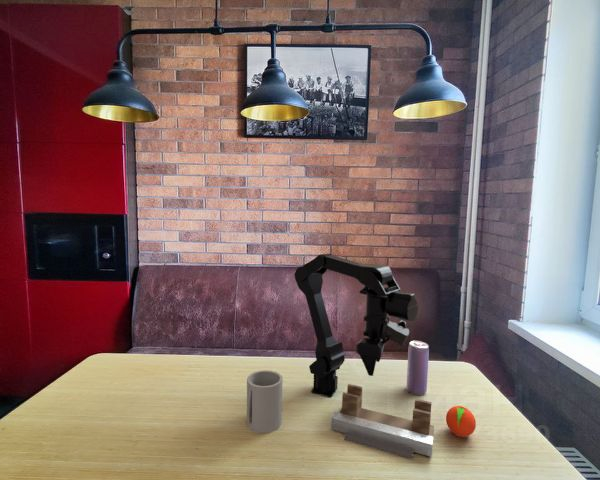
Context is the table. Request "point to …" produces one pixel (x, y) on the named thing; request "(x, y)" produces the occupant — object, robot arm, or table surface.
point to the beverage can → (417, 367)
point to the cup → (264, 401)
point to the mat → (379, 446)
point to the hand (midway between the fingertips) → (374, 368)
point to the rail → (383, 433)
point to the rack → (417, 424)
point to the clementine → (460, 421)
